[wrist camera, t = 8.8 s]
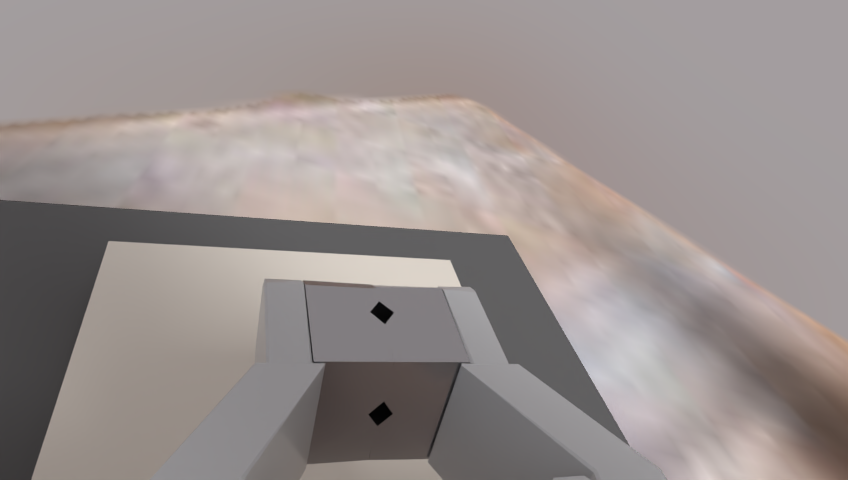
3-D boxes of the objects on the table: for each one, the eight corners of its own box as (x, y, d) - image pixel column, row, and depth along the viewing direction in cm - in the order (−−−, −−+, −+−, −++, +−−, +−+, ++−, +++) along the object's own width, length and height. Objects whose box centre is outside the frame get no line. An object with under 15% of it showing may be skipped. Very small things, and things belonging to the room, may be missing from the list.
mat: (-537, 1085, 7) (-560, 1080, 6) (-2, 210, 21) (-3, 199, 20) (798, 765, 12) (809, 756, 12) (504, 243, 26) (507, 235, 26)
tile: (-148, 1034, 6) (108, 241, 17) (-115, 1060, 7) (110, 285, 18) (688, 820, 9) (450, 260, 20) (645, 854, 10) (439, 297, 21)
